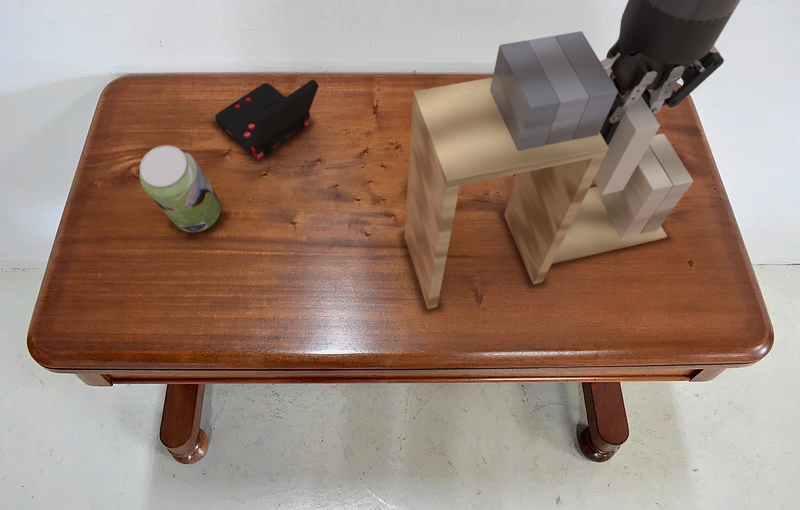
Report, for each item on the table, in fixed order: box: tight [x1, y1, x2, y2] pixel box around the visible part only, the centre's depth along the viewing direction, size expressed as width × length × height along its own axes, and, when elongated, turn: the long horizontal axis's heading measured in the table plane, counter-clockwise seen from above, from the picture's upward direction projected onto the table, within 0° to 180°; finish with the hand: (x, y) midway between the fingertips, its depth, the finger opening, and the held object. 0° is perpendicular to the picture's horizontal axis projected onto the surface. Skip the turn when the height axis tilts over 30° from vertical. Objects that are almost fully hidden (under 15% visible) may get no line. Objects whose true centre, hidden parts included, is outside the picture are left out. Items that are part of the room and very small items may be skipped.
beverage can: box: [139, 144, 222, 233], centre depth 69 cm, size 6×7×12 cm
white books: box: [551, 133, 694, 265], centre depth 70 cm, size 9×16×10 cm, turn 105°
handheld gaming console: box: [214, 79, 320, 160], centre depth 77 cm, size 9×12×10 cm
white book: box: [593, 96, 661, 195], centre depth 60 cm, size 7×2×10 cm, turn 15°
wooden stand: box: [404, 30, 618, 310], centre depth 59 cm, size 10×14×29 cm
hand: (614, 136), depth 60 cm, fingers closed on white book, 2 cm apart
